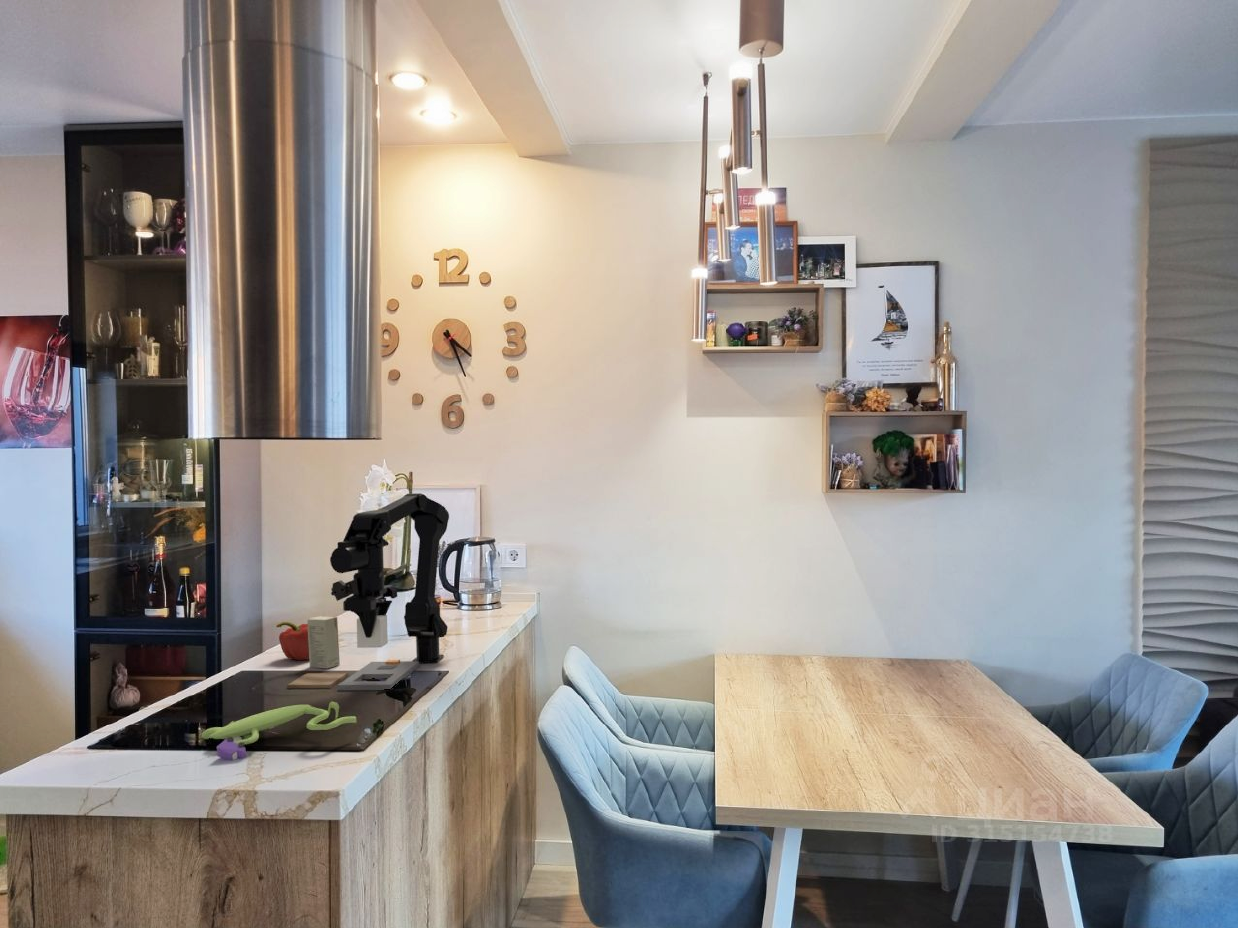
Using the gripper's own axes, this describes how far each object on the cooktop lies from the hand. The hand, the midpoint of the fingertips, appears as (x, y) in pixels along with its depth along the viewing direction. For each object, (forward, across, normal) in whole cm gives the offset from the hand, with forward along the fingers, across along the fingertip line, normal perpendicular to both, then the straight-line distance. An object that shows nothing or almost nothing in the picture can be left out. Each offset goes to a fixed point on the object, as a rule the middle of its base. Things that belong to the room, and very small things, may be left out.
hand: (372, 635), depth 187 cm
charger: (+2, 0, 0) cm, 2 cm away
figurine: (+12, +37, -4) cm, 39 cm away
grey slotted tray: (+11, -5, 0) cm, 12 cm away
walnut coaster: (+11, -1, -14) cm, 17 cm away
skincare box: (+11, -16, -18) cm, 27 cm away
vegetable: (+11, -24, -28) cm, 39 cm away
